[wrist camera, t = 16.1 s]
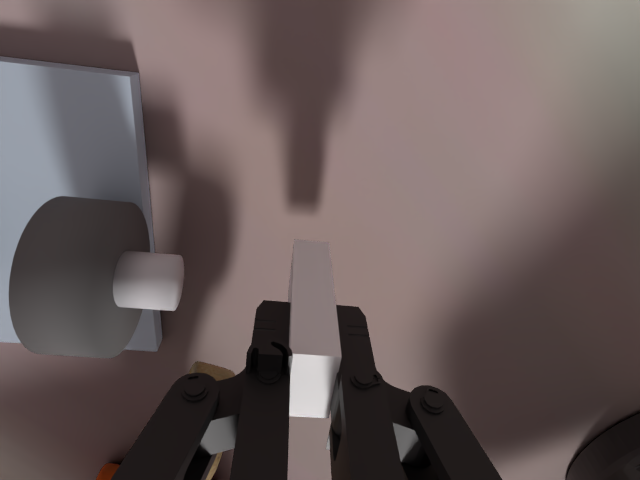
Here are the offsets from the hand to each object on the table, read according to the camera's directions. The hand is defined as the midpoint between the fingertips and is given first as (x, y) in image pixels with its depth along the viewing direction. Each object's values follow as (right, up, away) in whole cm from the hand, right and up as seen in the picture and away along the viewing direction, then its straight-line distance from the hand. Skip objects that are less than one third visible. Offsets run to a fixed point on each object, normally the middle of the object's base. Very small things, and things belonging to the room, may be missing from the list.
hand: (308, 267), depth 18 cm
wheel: (-7, +1, +1) cm, 8 cm away
